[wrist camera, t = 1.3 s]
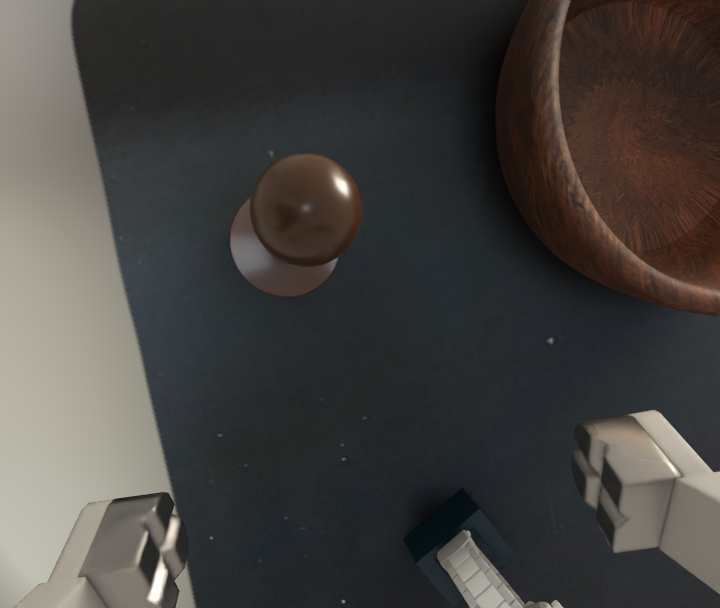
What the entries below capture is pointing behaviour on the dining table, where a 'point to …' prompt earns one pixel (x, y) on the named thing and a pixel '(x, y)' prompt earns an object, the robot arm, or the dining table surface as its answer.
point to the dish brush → (295, 225)
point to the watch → (465, 556)
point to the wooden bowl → (619, 142)
